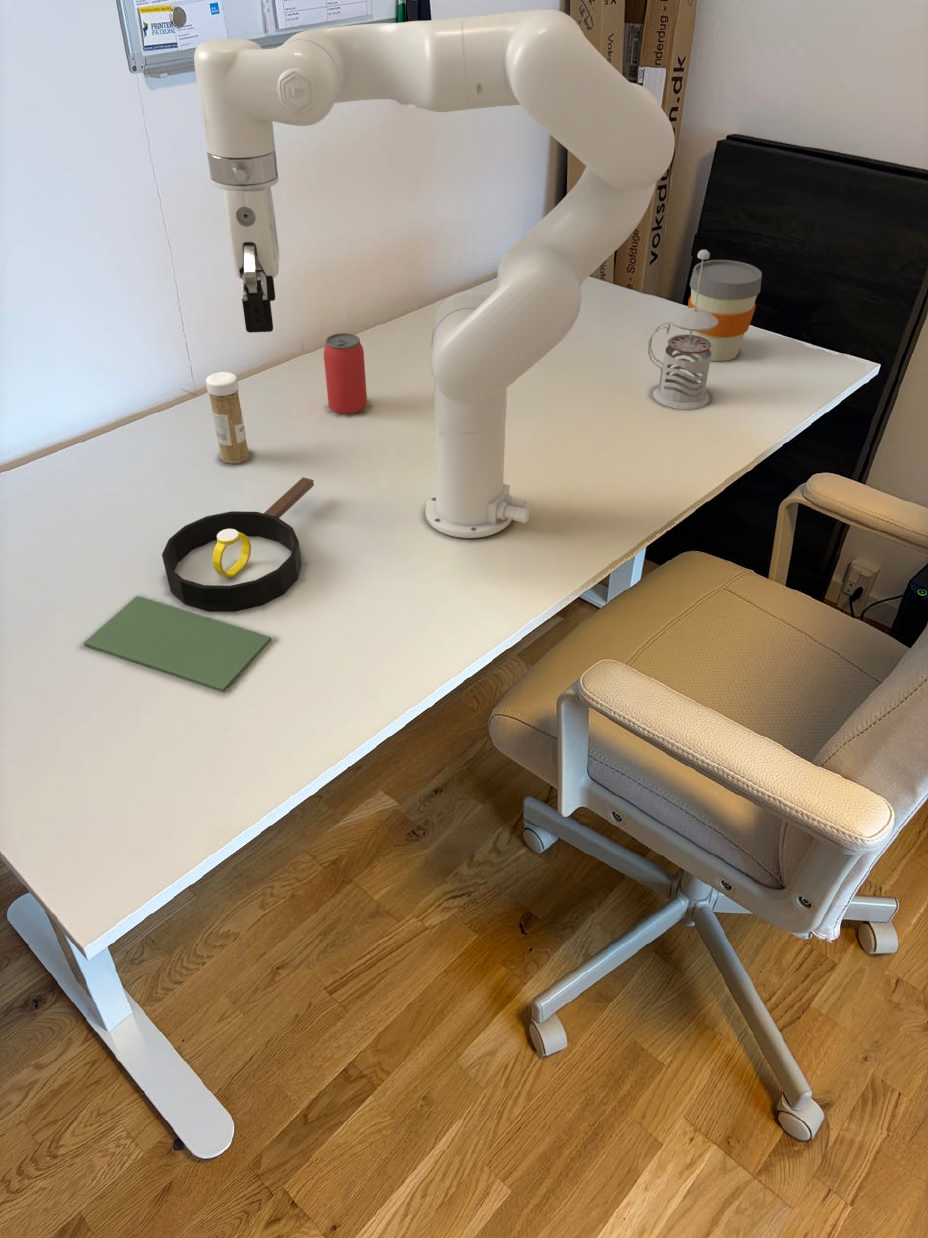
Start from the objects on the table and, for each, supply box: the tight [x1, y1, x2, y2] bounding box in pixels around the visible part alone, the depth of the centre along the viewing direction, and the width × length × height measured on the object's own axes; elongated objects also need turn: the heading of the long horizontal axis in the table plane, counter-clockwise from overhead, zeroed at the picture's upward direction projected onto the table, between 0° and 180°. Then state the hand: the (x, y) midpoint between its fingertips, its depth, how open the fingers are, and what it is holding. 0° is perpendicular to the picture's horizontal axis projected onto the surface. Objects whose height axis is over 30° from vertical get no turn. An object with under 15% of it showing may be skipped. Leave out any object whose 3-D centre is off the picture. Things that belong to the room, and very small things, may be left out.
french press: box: [647, 249, 718, 410], centre depth 158 cm, size 10×12×25 cm
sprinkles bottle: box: [205, 371, 250, 465], centre depth 145 cm, size 5×5×13 cm
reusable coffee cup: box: [687, 259, 763, 362], centre depth 176 cm, size 13×13×15 cm
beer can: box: [323, 332, 368, 416], centre depth 159 cm, size 7×7×12 cm
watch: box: [211, 529, 252, 578], centre depth 125 cm, size 6×3×6 cm, turn 150°
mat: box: [83, 595, 272, 693], centre depth 115 cm, size 20×10×1 cm, turn 66°
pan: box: [161, 477, 315, 613], centre depth 129 cm, size 28×17×4 cm, turn 156°
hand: (261, 315), depth 119 cm, fingers open, 9 cm apart
